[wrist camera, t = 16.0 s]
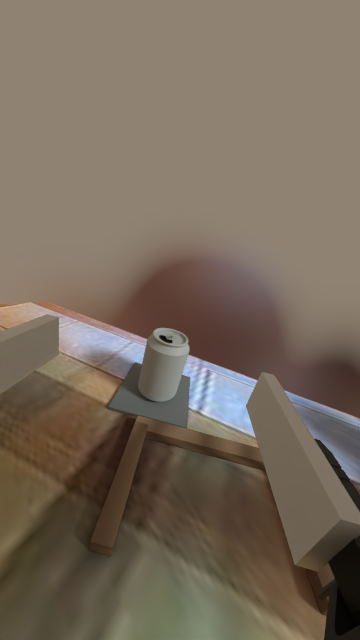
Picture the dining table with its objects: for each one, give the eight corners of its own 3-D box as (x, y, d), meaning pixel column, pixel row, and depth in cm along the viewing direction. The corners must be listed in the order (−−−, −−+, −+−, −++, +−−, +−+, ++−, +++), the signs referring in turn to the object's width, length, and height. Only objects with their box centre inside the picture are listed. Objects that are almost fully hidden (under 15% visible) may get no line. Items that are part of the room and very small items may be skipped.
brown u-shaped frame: (279, 461, 28) (283, 455, 27) (343, 619, 16) (353, 613, 15) (136, 422, 28) (137, 415, 28) (88, 550, 16) (90, 541, 15)
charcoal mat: (189, 378, 41) (190, 377, 41) (186, 430, 29) (187, 428, 29) (134, 364, 41) (134, 362, 41) (108, 408, 29) (108, 406, 29)
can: (129, 383, 34) (140, 327, 30) (159, 372, 40) (172, 323, 36) (152, 412, 30) (168, 350, 26) (183, 395, 35) (200, 341, 31)
